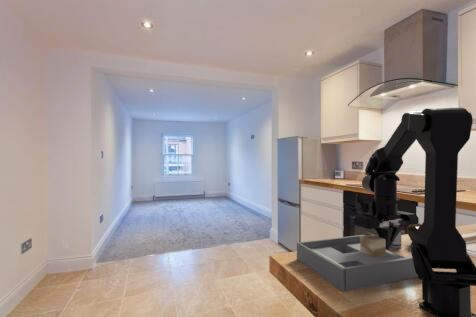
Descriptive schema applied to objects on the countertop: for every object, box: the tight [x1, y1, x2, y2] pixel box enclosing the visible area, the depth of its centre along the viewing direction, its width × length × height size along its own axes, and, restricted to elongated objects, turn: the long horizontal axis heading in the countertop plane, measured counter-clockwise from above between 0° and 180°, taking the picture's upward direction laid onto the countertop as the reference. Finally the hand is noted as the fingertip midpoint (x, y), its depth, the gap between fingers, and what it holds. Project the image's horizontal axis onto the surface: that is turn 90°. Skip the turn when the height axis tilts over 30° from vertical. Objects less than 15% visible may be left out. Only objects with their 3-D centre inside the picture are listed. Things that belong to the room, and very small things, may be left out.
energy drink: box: [390, 210, 402, 249], centre depth 85 cm, size 5×5×12 cm
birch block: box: [360, 234, 386, 257], centre depth 70 cm, size 4×4×4 cm
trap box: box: [296, 234, 418, 293], centre depth 68 cm, size 20×25×5 cm
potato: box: [406, 223, 422, 242], centre depth 85 cm, size 8×13×8 cm, turn 114°
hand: (386, 249), depth 71 cm, fingers closed
